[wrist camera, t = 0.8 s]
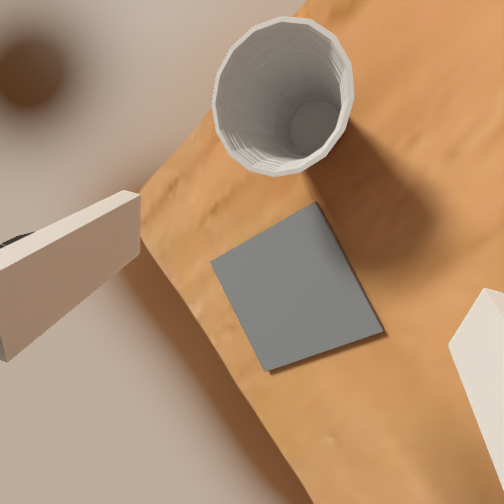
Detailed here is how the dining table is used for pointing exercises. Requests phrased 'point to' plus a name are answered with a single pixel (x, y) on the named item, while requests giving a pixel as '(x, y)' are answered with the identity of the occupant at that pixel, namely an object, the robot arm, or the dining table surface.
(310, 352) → the rest mat
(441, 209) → the dining table surface
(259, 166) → the plastic cup
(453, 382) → the dining table surface
